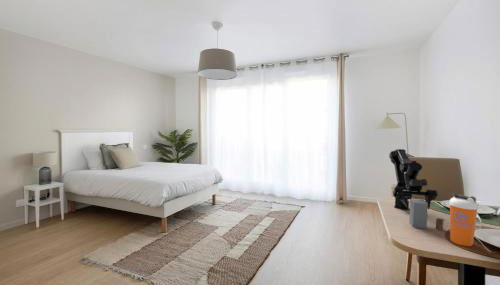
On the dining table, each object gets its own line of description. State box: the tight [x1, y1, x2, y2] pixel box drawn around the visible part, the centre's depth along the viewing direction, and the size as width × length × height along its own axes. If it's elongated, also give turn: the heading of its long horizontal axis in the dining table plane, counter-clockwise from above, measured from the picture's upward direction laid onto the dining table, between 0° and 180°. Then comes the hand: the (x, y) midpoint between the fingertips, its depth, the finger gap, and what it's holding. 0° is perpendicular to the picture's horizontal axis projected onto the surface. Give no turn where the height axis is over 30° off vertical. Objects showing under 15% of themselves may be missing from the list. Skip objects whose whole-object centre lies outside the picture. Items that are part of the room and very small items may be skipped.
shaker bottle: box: [449, 193, 479, 247], centre depth 98 cm, size 9×9×20 cm
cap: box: [408, 198, 428, 229], centre depth 115 cm, size 6×6×12 cm
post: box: [435, 217, 445, 231], centre depth 111 cm, size 2×2×5 cm
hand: (417, 207), depth 116 cm, fingers open, 9 cm apart
